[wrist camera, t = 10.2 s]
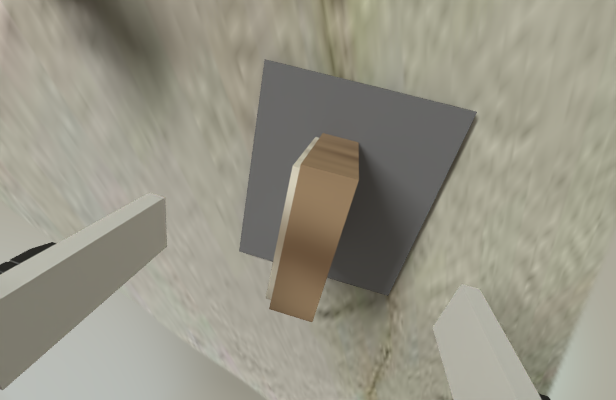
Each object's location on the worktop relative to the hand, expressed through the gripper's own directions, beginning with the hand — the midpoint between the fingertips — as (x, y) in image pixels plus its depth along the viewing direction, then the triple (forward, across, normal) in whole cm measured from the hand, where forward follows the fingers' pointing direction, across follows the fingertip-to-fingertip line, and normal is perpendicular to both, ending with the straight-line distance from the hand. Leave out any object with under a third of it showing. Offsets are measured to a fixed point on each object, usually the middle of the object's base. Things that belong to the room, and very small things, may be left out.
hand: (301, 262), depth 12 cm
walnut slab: (+10, 0, -1) cm, 10 cm away
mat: (+10, +1, -1) cm, 10 cm away
